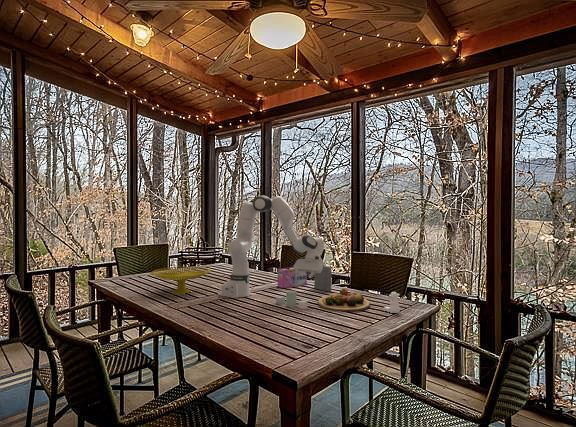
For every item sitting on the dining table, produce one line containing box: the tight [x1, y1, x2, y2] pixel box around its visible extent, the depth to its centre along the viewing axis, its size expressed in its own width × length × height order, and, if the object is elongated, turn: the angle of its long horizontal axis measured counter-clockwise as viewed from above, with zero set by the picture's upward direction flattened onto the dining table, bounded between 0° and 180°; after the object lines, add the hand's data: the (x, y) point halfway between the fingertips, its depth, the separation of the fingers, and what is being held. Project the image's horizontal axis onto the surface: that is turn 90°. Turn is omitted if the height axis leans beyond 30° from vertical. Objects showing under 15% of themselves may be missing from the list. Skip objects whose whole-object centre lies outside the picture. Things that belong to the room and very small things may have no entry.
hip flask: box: [313, 262, 332, 293], centre depth 259 cm, size 16×4×20 cm, turn 41°
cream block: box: [297, 299, 309, 310], centre depth 211 cm, size 4×4×4 cm
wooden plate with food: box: [317, 287, 371, 313], centre depth 219 cm, size 32×32×8 cm
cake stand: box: [150, 265, 211, 295], centre depth 247 cm, size 40×40×15 cm
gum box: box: [277, 266, 308, 289], centre depth 272 cm, size 24×8×14 cm, turn 125°
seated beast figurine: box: [382, 291, 401, 314], centre depth 203 cm, size 10×9×12 cm
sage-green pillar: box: [285, 290, 298, 308], centre depth 216 cm, size 4×4×8 cm
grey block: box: [275, 295, 286, 305], centre depth 221 cm, size 4×4×4 cm
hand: (303, 276), depth 226 cm, fingers open, 8 cm apart
